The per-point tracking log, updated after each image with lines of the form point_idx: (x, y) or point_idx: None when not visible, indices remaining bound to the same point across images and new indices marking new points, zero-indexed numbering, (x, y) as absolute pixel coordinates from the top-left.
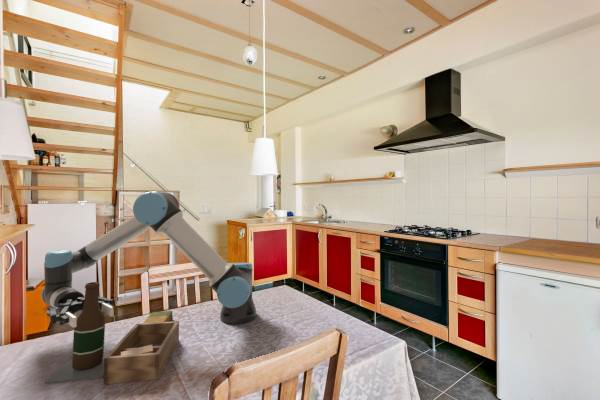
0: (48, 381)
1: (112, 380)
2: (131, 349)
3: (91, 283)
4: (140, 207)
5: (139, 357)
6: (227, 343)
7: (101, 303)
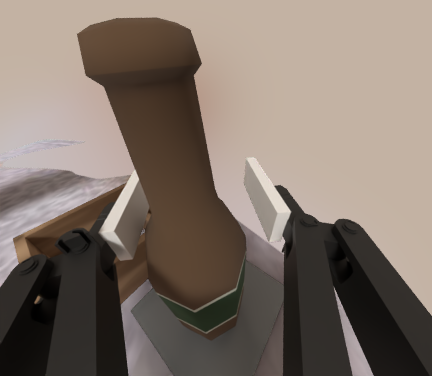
0: (281, 284)
1: None
2: None
3: (124, 37)
4: None
5: None
6: (56, 203)
7: (98, 261)
